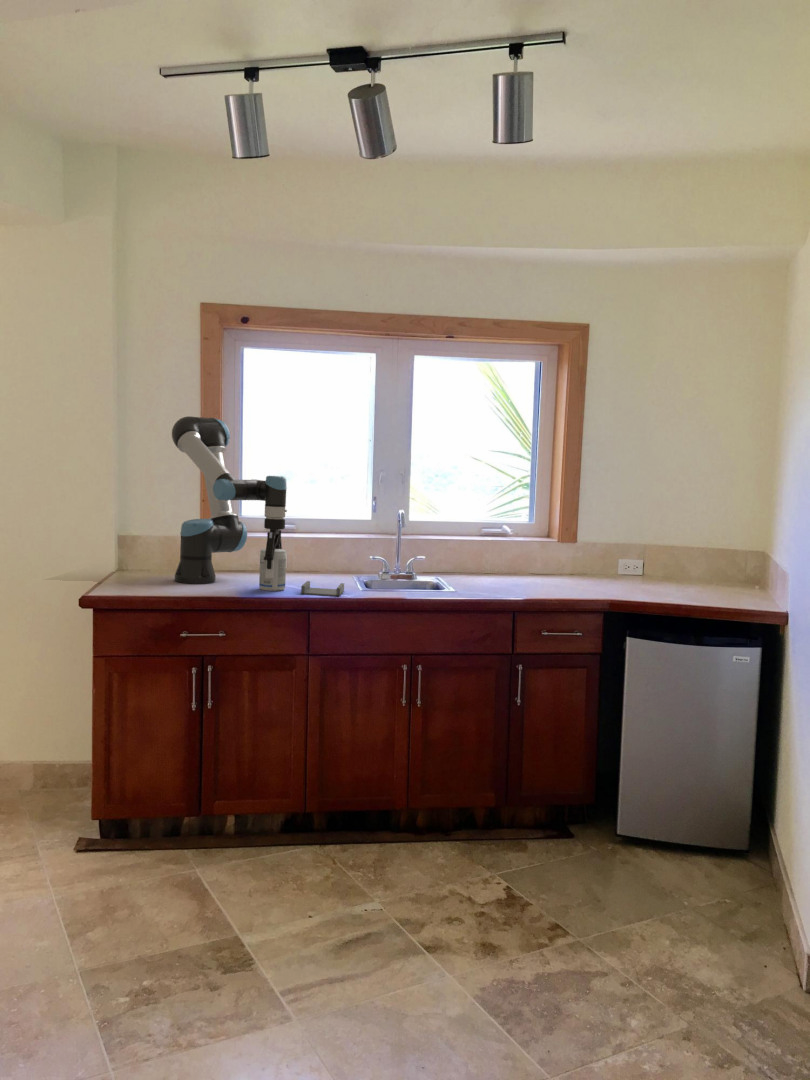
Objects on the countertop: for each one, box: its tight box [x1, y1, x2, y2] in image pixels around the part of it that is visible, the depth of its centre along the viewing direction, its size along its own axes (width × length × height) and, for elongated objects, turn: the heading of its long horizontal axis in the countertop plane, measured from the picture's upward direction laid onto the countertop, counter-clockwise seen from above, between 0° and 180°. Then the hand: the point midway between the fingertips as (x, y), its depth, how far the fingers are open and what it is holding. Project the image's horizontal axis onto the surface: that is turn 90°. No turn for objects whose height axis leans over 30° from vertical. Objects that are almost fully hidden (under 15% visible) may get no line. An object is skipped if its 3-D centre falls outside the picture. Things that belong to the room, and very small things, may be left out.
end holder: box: [300, 580, 345, 598], centre depth 330 cm, size 14×13×3 cm
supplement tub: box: [258, 548, 287, 592], centre depth 331 cm, size 10×10×15 cm
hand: (272, 575), depth 331 cm, fingers open, 13 cm apart
